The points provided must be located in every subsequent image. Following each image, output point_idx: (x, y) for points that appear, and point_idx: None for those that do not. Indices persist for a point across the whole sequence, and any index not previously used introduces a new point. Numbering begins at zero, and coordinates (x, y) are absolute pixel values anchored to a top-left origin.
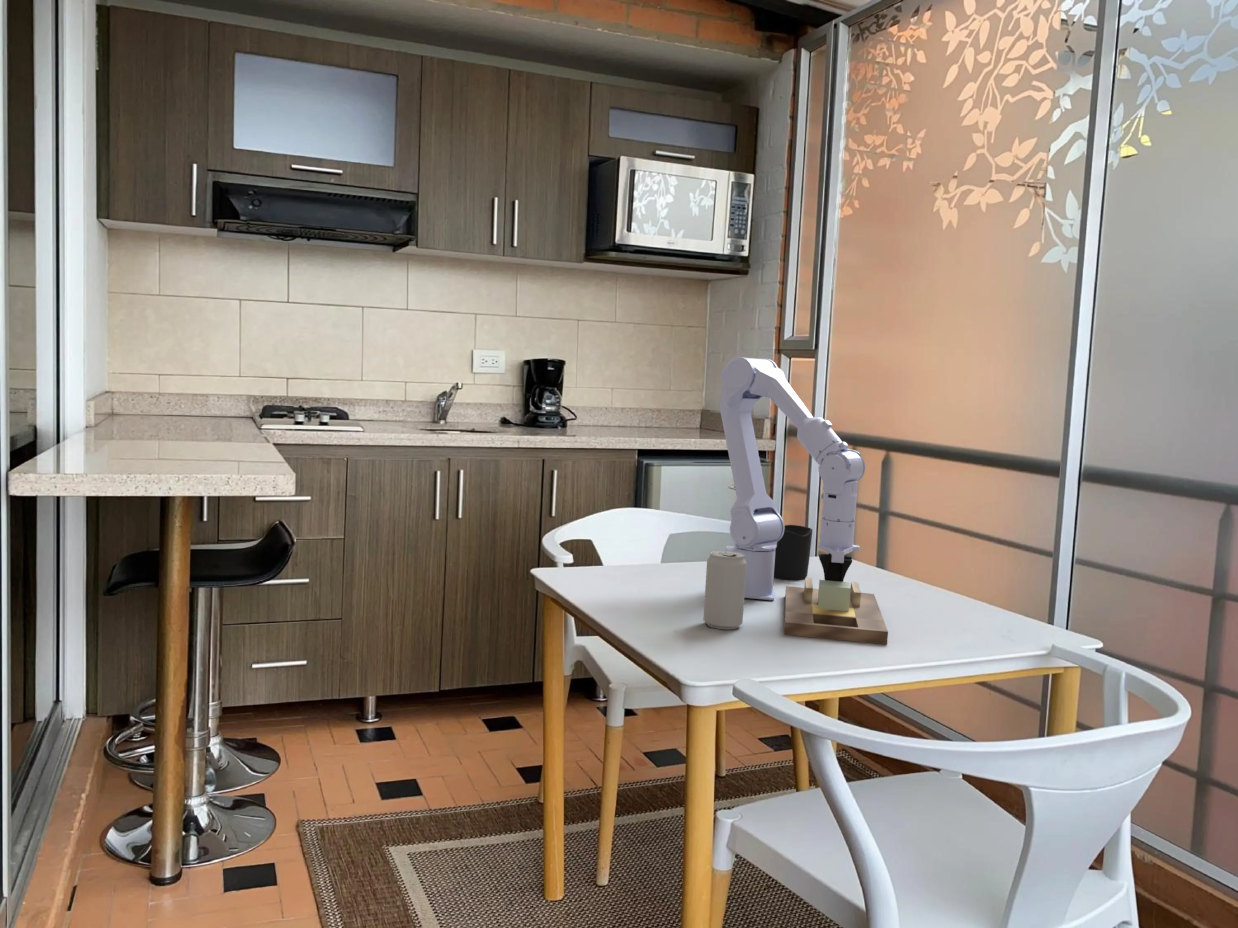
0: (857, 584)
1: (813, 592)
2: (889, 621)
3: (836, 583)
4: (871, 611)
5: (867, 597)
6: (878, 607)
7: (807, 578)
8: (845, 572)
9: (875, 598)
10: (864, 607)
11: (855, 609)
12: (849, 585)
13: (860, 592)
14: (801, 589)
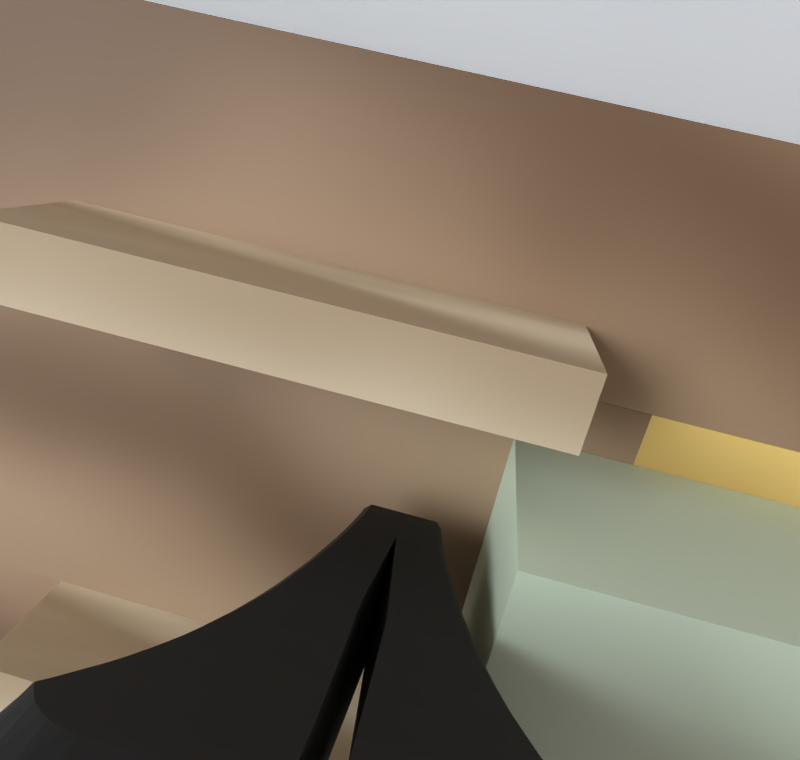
0: (102, 260)
1: (87, 570)
2: (679, 6)
3: (624, 749)
4: (795, 259)
5: (117, 94)
6: (591, 106)
7: (2, 703)
8: (527, 738)
9: (139, 2)
10: (606, 282)
11: (705, 409)
12: (751, 636)
13: (594, 378)
14: (10, 624)
